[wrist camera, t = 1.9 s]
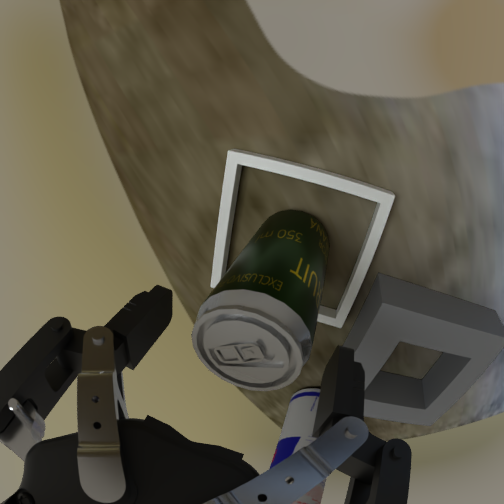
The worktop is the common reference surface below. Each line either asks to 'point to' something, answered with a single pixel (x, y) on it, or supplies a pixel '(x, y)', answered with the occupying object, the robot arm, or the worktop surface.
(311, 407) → the beverage can
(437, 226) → the worktop surface
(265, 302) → the beer can
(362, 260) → the square frame
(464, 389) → the socket block
